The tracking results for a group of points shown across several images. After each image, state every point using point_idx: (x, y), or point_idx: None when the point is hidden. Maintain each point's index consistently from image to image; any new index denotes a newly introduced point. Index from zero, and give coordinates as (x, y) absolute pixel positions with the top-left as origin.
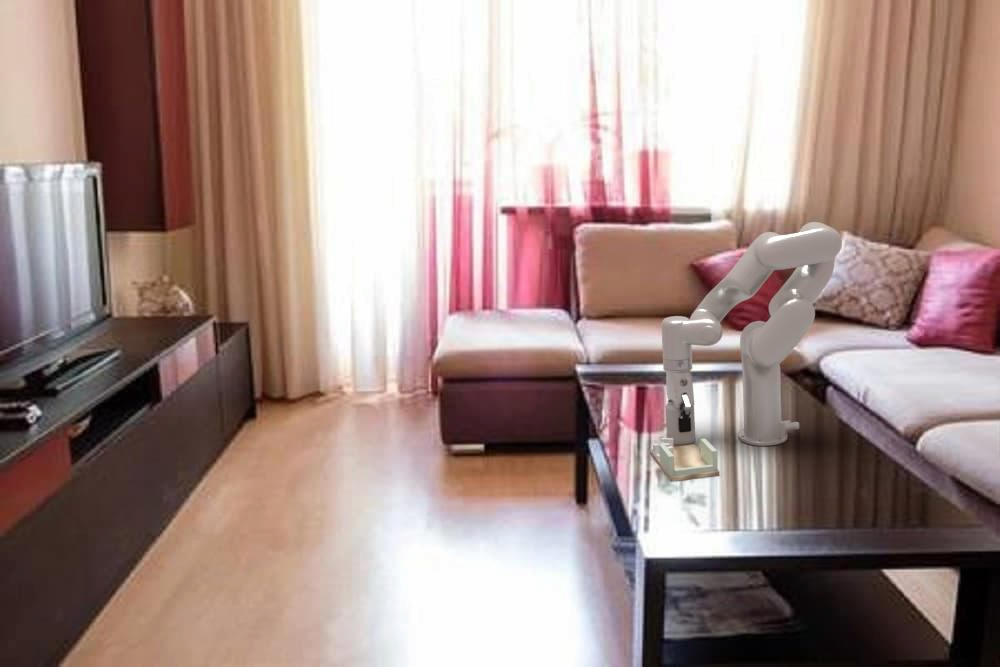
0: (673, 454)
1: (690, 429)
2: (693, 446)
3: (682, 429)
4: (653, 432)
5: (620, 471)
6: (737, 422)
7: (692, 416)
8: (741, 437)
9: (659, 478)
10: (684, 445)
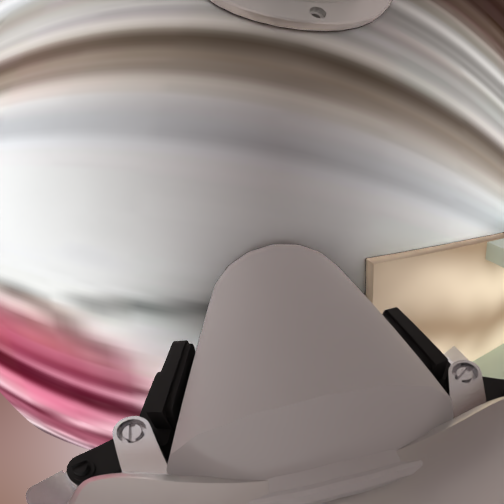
0: (461, 353)
1: (399, 313)
2: (397, 271)
3: None
4: (141, 382)
5: None
6: (78, 31)
7: (399, 337)
8: (334, 21)
9: None
10: None
